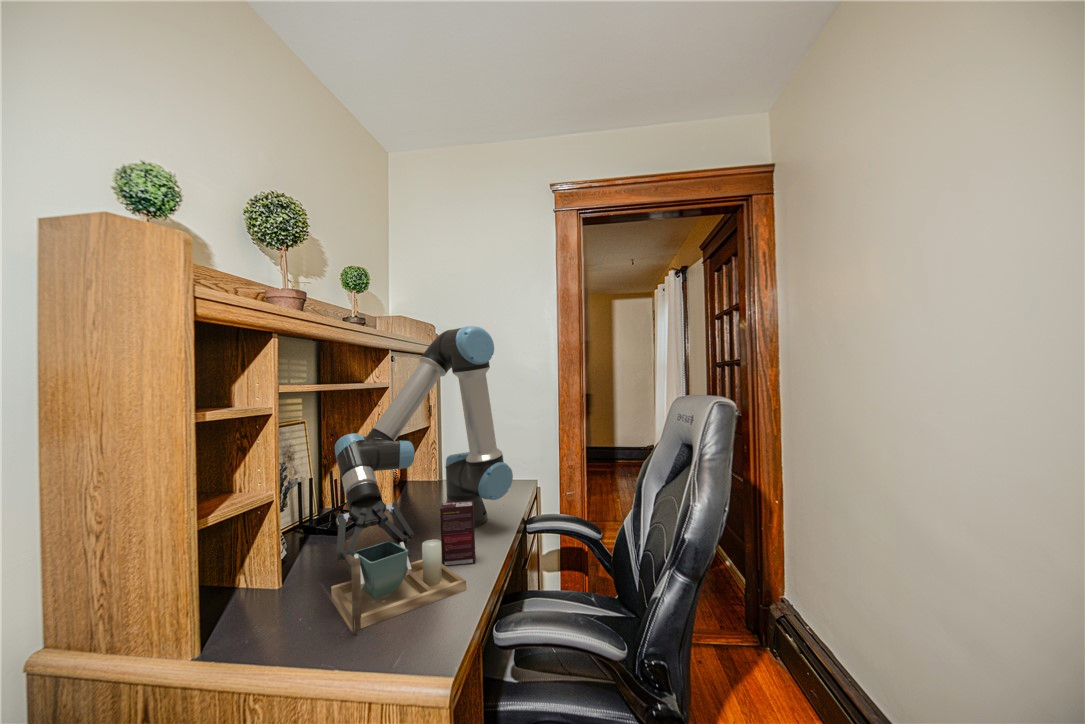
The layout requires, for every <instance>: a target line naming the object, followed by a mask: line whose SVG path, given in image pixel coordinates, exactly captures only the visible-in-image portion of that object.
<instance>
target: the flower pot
mask: <svg viewBox="0 0 1085 724" xmlns="http://www.w3.org/2000/svg"><path fill="white" fill-rule="evenodd" d="M355 554H358V557H359V558H360V565H361V570H362V574H363V578H364V582H365V584H364V586H363V588H362V589H363V590H364V592H365V593H367V594H368V595H370V596H371V597H372V598H374V599H378V598H380V597H383V596H385V595H388V594H390V593H393V592H395V591H397V589H398V588H399V586H400V584H401V583H402V581H403V578H404V575H405V572H406V565H407V556H408V550H407V549H405V548H403V547H401V546H399V544H398V543H396V542H393V541H390V540H387V541H385V542H381V543H377V544H375V545H371V546H369V547H365V548H361V549H358V550H354V553H353V555H355Z"/></svg>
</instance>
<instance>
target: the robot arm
mask: <svg viewBox="0 0 1085 724" xmlns="http://www.w3.org/2000/svg"><path fill="white" fill-rule="evenodd" d="M494 353H495V344H494V341H493V338H492V336H491V335H490V333H489V332H488V331H486V330H485V329H484V328H483V327H480V326H473V325H472V326H464V327H459V328H458V327H457V328H455V329H448V330H447V329H446V330H445V331H443V332H441V333H440V334H439V335H438V336H437V337H435V338H434V340H433V341H432V342H431V343H430V344H429V346H428V347H427V349H426V350H425V351H424V352H423V353H422V355H421V357H419V364H418V366H417V367H416V369H415V370H414V371H413V373H412V374H411V375H410V376H409V378H408V380H407V381H406V382H405V383H404V385H403V387H402V388H401V389H400V391H399V392H398V393H397V395H395V397H394V399H392V401H391V403H390V404H389V406H388V407H387V408H386V409H385V410H384V412H383V414H382V415H380V417H379V419H378V420H377V422H376V423H375V424H374V426H373V427H372V429H371V430H370V431H369V432H368V434H367V435H366V436H363V435H362V434H359V433H356V432H355V433H348V434H345V435H343V436H342V437H340V438H339V439H338V440H337V441H336V442H335V444H334V454H335V461H336V463H337V466H338V470H339V473H340V479H341V481H342V483H341V484H342V486H343V492H344V495H345V500H346V504H347V508H348V512H346V513H342V512H339V513H338V514H337V516H336V519H335V524H336V527H337V536H336V537H337V541H336V549H335V550H336V552H335V560H336V561H337V562H340V561H341V560H343V561H344V562H345V563H346V566H347V569H348V574H350V575H352V569H351V565H350V563H349V562H348V561H347V560H346V556H347V555H348V554H351V555H352V556H353V557H354V558H359V557H358V554H355V555H353V553H354V552H355V551H356V550H355V549H356V546H357V543H358V540H359V537H360V534H361V531H362V528H363V529H366V528H369V527H374V526H375V527H376V526H378V527H379V528H380V529H382V530H383V531H385V533H387V534H388V535H389V536H390V537H391V539H393V540H394V541H395V543H396V544H397V545H399V546H401V547H403V548H405V549H407V550H408V556H407V565H406V572H405V576H406V575H409V573H410V571H411V569H412V568H411V565H410V563H411V562H410V559H409V558H410V557H411V553H412V552H411V548H410V546H409V543H410V542H412V539H413V538H414V535H415V533H414V531H413V530H412V528H411V527H410V525H409V523H408V522H407V519H405V517H404V516H403V514H402V512H401V511H400V509H399V504H398V502H397V501H393V502H392V503H391V504H386V503H385V502H383V497H382V495H381V491H380V487H379V485H378V480H377V478H376V473H375V472H377V471H378V472H379V471H390V470H398V471H399V470H402V469H408V468H410V467H411V466H412V465H413V463H414V460H415V456H416V455H415V454H416V453H415V446H414V445H413V443H412V442H411V441H410V440H397V439H398V437H399V436H400V434H402V433H401V432H402V431H404V429H405V428H406V426H407V424H408V423H409V421H410V420H411V418H412V417H413V416H414V414H415V413H416V411H417V410H418V409H419V407H420V406H421V405H422V404H423V402H424V400H425V399H426V397H427V395H428V394H429V393H430V391H432V389H433V387H434V386H435V384H436V383H437V382H438V380H439V379H440V378H441V377H445V376H446V374H447V373H448V371H449V370H450V369H451V371H452V375H454V376H456V377H457V378H458V383H459V390H460V391H459V392H460V396H461V397H460V399H461V403H462V409H463V411H462V412H463V418H464V424H465V429H466V430H465V431H466V438H467V443H468V452H461V453H459V452H458V453H454V454H449V455H448V456H447V457H446V459H445V480H446V481H445V483H446V485H445V486H446V502H445V503H453V502H465V501H473V506H474V528H477V527H479V526H482V525H483V524H485V523H486V522H487V521H488V512H487V509H486V506H485V503H484V501H483V500H490V501H496V500H500V499H501V498H503V497H504V496H505V495H506V494H507V493H508V492H509V489H510V488H511V486H512V484H513V480H514V479H513V478H514V477H513V475H514V474H513V469H512V468H511V466H509V465H508V463H506V462H504V454H503V452H502V450H501V449H500V448H498V447H497V439H496V434H495V426H494V421H493V414H492V406H491V401H490V400H491V399H490V394H489V387H488V385H489V384H488V379H487V372H488V371H489V370H490V369H491V367H490V360H491V359H492V358H493V356H494ZM385 512H387V513H388V514H389V515H390V516H391V518H392V520H393V521H394V523H395V524H394V523H393V522H392V521H391V520H390V519H389V517H388V516H387V515H386V514H385ZM348 520H350V521H351V522H353V523H354V524H355V528H354V531H353V534H352V536H351V540H350V543H349V546H348V550H345V545H346V544H345V543H346V541H345V540H346V528H347V527H346V526H347V523H348V522H349V521H348ZM360 571H361V589H362V588H363V586H364V584H365V582H364V578H363V574H362V570H361V565H360Z"/></svg>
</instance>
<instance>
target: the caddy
mask: <svg viewBox="0 0 1085 724" xmlns="http://www.w3.org/2000/svg"><path fill="white" fill-rule="evenodd" d="M346 560H347V561H348V562H349V563H350V565H351V569H352V574H351V580H349V581H345V582H342V583H337V584H335V585H332V586H331V587H330V590H331V593H330V594H331V595H330V596H331V599H330V600H331V601H332V603H333V604H334V605H333V606H334V607H336V609H337V610H338V612H339V614H340V616H341V617H342V618H343V620H344V622H345V624H347V626H348V628H349V630H350V631H351V632H352V636H354V637H355V636H358V633H357V631H359V630H360V629H364V628H366V627H369V626H372V625H375V624H377V623H379V622H383V621H385V620H389V619H391V618H393V617H397V616H399V615H401V614H406V613H407V612H410V611H413V610H415V609H419V608H421V607H424V606H427V605H429V604H432V603H434V602H435V603H436V602H437V601H440V600H443V599H445V598H448V597H451V596H454V595H456V594H459V593H462V592H465V591H467V580H465V579H464V578H463V577H461V576H460V575H459V574H457V573H456V572H455V571H453V570H452V569H450V568H449V567H448V566H447V567H446V566H445V565H443V564H442V582H441V583H439V584H437V585H434V586H428V585H426V584H425V583H424V582H423V566H422V559H419V560H416V561H413V562H410V565H411V568H412V569H411V571H410V573H409V575H406V576H405V575H404V578H403V581H402V583H401V584H400V586H399V588H398V589H397V591H395V592H393V593H390V594H388V595H385V596H383V597H380V598H378V599H374V598H372V597H371V596H370V595H368V594H367V593H365V592H364V590H363V589H361V571H360V558H354V557H353V556H352V555H351V554H348V555H347V556H346Z"/></svg>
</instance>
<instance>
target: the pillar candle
mask: <svg viewBox="0 0 1085 724" xmlns="http://www.w3.org/2000/svg"><path fill="white" fill-rule="evenodd" d="M421 560H422V566H423V582H424V583H425V584H426V585H428V586H434V585H437V584H439V583H441V582H442V550H441V539H427V540H424V541H423V542H422V544H421Z"/></svg>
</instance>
